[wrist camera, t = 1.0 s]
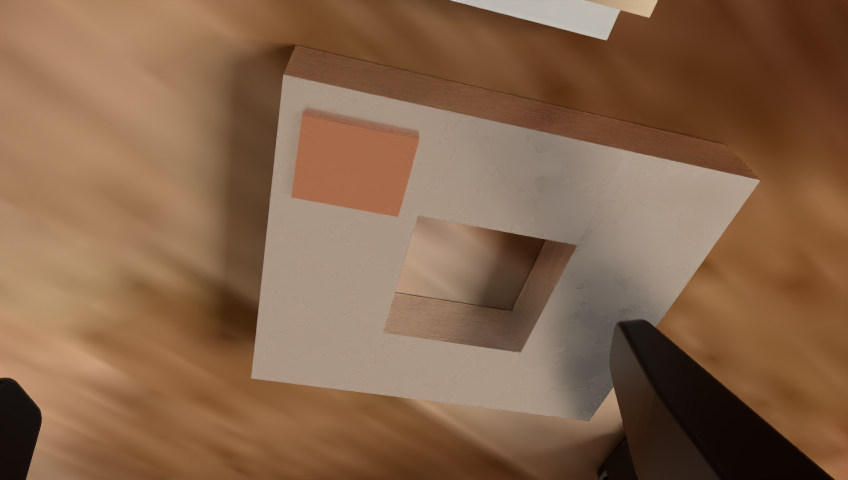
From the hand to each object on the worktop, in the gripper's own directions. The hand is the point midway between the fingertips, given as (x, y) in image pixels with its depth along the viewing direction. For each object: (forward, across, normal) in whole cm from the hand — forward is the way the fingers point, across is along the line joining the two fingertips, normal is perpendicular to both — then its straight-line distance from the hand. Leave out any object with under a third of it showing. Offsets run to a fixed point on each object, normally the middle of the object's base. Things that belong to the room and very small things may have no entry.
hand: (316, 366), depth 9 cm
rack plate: (+13, -3, +9) cm, 16 cm away
